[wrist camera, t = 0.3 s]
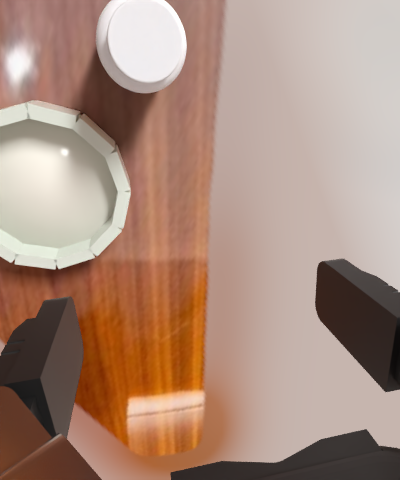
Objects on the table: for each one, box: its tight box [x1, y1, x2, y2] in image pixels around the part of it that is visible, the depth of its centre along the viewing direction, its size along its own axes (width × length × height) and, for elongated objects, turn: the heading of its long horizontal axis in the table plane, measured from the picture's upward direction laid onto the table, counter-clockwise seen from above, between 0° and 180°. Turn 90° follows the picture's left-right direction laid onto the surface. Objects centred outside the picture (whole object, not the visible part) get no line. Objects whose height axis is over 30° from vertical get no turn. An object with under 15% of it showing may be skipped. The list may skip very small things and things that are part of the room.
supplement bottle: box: [96, 0, 187, 93], centre depth 22 cm, size 5×5×10 cm
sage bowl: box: [0, 100, 131, 269], centre depth 28 cm, size 13×13×3 cm
